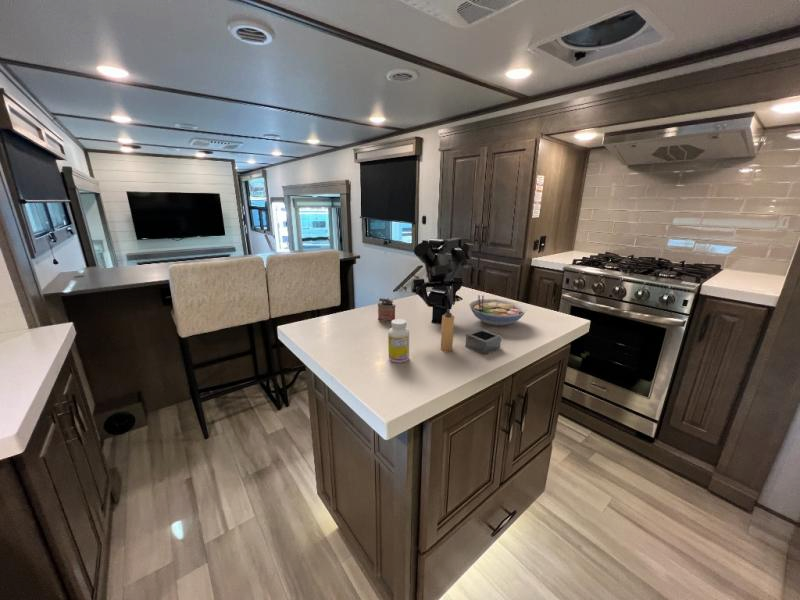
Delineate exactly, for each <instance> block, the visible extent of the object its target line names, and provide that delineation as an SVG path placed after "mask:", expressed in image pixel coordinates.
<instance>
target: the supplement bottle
mask: <svg viewBox="0 0 800 600" xmlns="http://www.w3.org/2000/svg"><path fill="white" fill-rule="evenodd" d="M390 324H391V328H389V329H388V336H387V337H388V339H387V340H388V341H387V342H388V345H387V346H388V359H389V361H391V362H393V363H398V364H399V363H400V364H401V363H405V362H407V361H409V359H410V330H409V328H407V320H405V319H403V318H395V319H394V320H392V321H391V323H390Z"/></svg>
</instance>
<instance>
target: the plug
mask: <svg viewBox="0 0 800 600" xmlns="http://www.w3.org/2000/svg"><path fill="white" fill-rule="evenodd" d="M454 326H455V316H454V315H453V314H452V312H451V309H447V313H445V315H442V323H441V330H440V331H441V333H440V335H441V336H440V350H441V351H442V352H445V353H450V352H452V351H453V345H454V344H453V343H454V330H455V329H454Z"/></svg>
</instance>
